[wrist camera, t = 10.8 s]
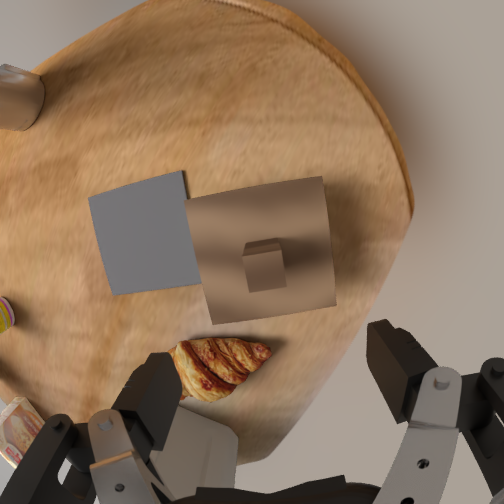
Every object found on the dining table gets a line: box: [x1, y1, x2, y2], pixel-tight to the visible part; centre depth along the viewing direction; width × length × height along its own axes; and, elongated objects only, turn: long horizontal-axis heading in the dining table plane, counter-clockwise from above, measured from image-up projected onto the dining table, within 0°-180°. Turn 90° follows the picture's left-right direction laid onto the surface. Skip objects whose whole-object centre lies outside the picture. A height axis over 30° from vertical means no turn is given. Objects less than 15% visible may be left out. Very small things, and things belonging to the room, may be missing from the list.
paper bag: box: [150, 406, 239, 499], centre depth 28 cm, size 19×15×28 cm
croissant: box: [168, 338, 272, 402], centre depth 35 cm, size 21×10×8 cm, turn 115°
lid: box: [184, 176, 337, 325], centre depth 24 cm, size 13×13×6 cm
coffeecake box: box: [0, 397, 45, 469], centre depth 37 cm, size 15×7×20 cm, turn 20°
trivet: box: [88, 170, 202, 295], centre depth 33 cm, size 14×14×1 cm
